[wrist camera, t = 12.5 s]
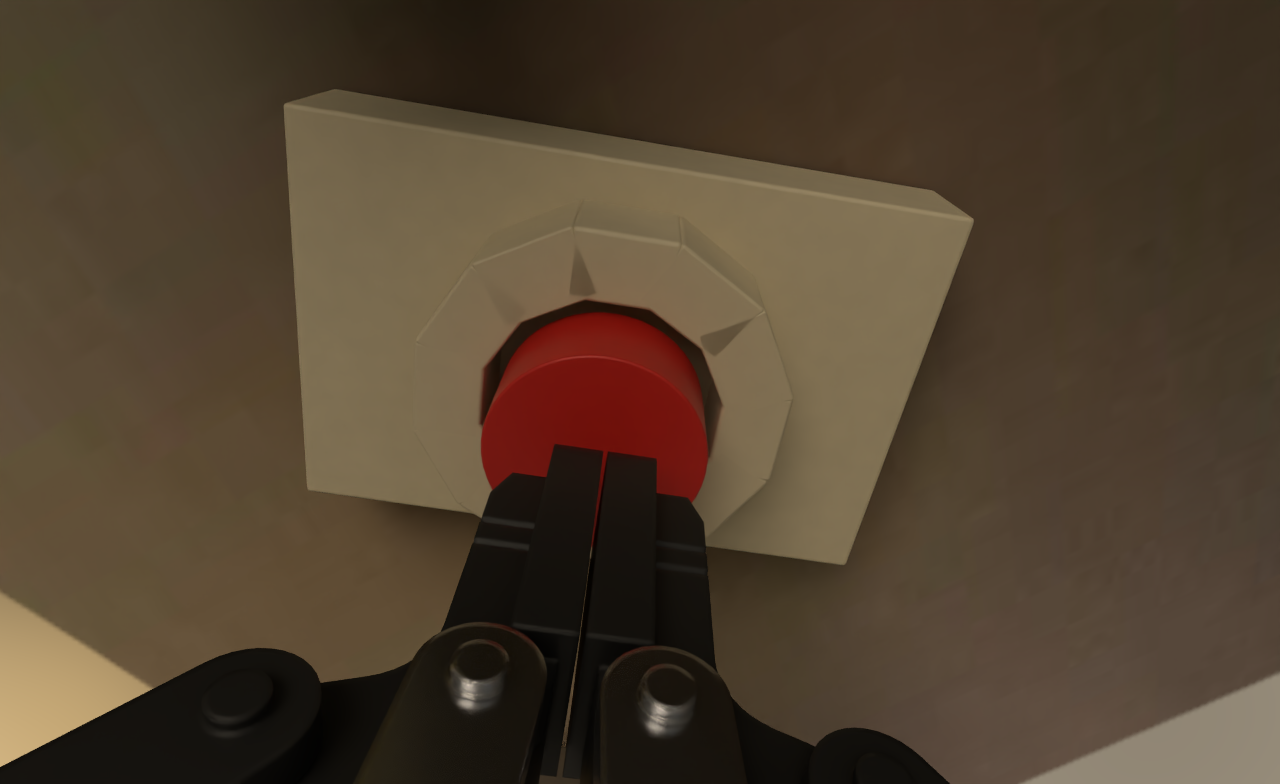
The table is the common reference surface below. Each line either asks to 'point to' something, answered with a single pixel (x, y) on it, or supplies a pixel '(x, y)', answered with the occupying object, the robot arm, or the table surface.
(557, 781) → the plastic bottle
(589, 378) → the release button
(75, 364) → the table surface
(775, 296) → the box
